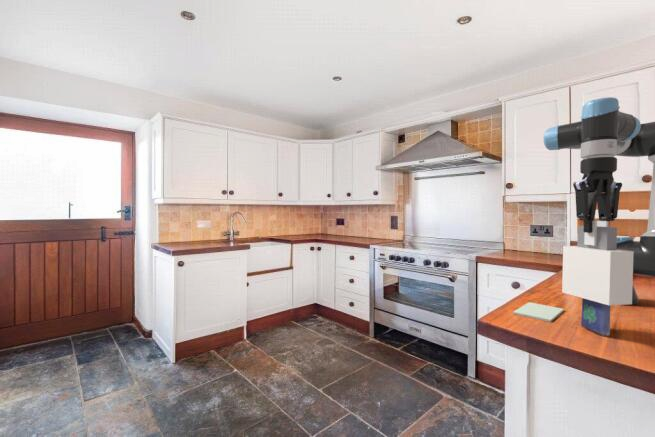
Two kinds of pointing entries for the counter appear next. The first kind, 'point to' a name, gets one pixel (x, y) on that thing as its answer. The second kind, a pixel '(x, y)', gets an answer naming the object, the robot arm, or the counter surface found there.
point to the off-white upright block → (598, 269)
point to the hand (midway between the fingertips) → (596, 244)
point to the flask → (596, 317)
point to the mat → (539, 311)
